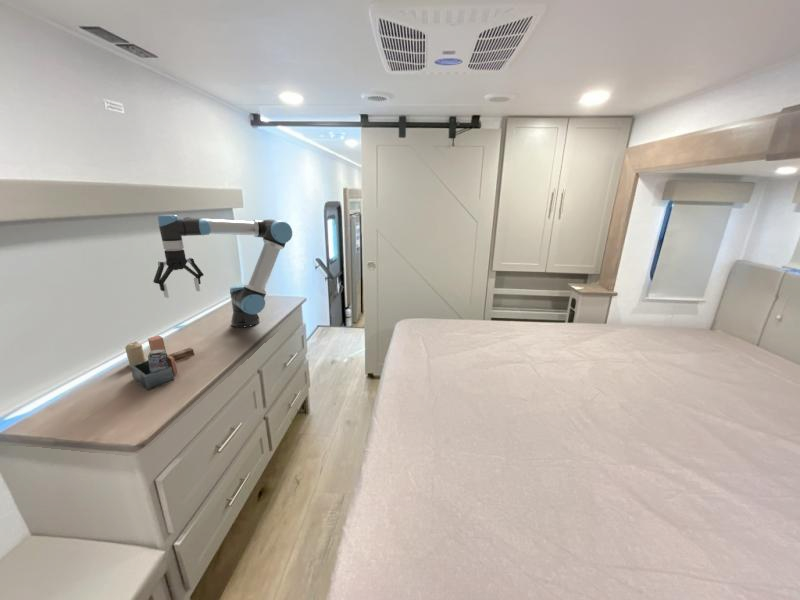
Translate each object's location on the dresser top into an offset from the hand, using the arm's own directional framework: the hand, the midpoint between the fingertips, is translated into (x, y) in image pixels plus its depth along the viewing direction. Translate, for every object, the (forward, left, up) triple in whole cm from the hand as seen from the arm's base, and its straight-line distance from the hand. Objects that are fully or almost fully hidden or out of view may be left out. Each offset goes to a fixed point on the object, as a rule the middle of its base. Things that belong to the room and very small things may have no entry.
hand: (182, 293), depth 149 cm
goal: (+24, +22, -27) cm, 42 cm away
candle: (+23, +1, -27) cm, 35 cm away
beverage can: (+22, +23, -27) cm, 42 cm away
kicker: (+18, +17, -26) cm, 36 cm away
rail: (+13, +11, -27) cm, 32 cm away
